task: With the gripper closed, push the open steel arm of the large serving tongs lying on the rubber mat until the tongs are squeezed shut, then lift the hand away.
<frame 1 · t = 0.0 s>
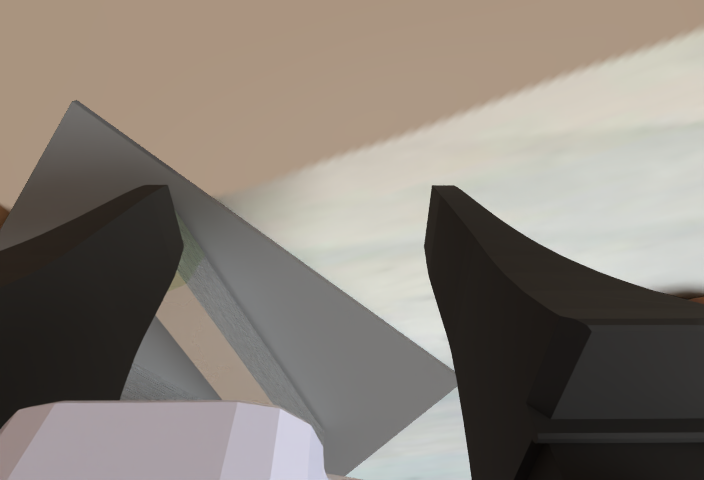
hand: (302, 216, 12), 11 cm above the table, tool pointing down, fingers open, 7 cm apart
hinged arm: (230, 370, 25), point 2 cm above the table, hinge at 25.0°
fixed arm: (297, 444, 31), resting on mat
mat: (205, 365, 28), on the table
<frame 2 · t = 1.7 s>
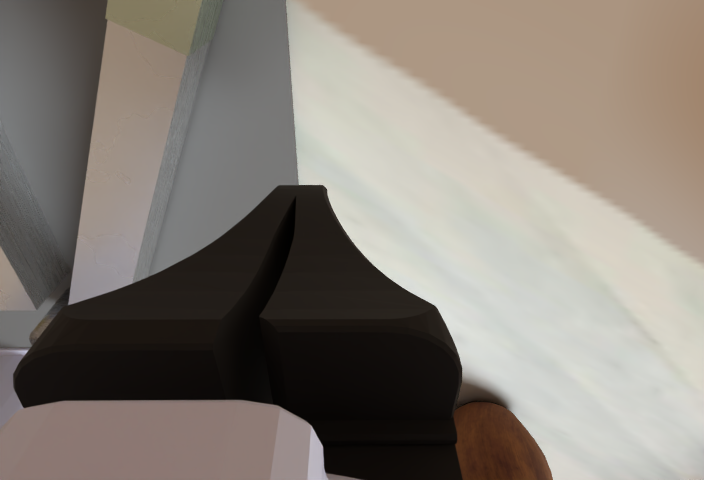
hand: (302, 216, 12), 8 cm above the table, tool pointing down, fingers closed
hinged arm: (114, 180, 18), point 2 cm above the table, hinge at 25.0°
fixed arm: (92, 293, 24), resting on mat
wooden figurine: (478, 413, 31), on the table
mat: (69, 141, 19), on the table
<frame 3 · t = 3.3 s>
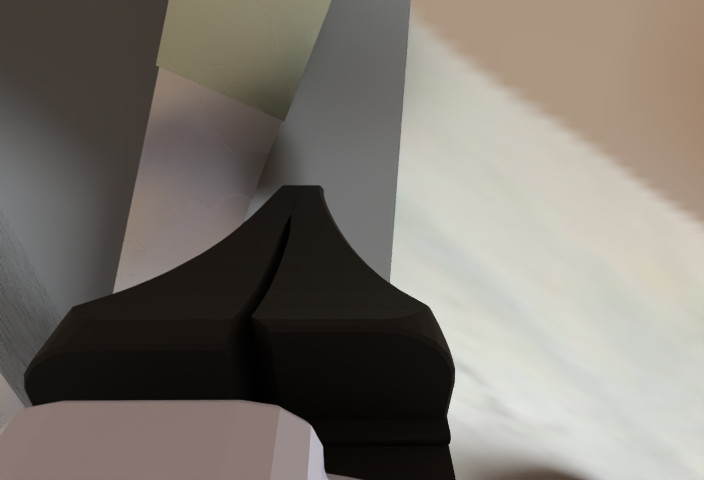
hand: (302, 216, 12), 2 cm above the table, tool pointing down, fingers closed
hinged arm: (150, 274, 13), point 2 cm above the table, hinge at 24.9°, touching gripper
fixed arm: (112, 385, 19), resting on mat
mat: (87, 212, 14), on the table
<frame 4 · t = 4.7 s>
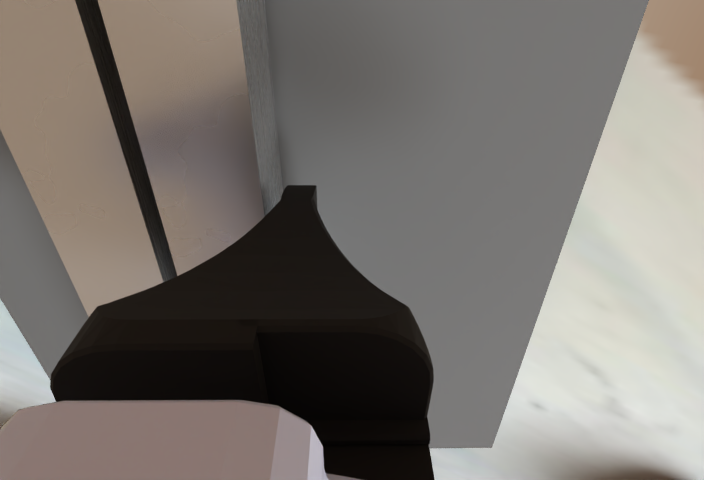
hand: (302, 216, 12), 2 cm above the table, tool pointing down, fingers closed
hinged arm: (211, 244, 12), point 2 cm above the table, hinge at -0.2°, touching gripper
fixed arm: (244, 387, 19), resting on mat
mat: (268, 216, 14), on the table
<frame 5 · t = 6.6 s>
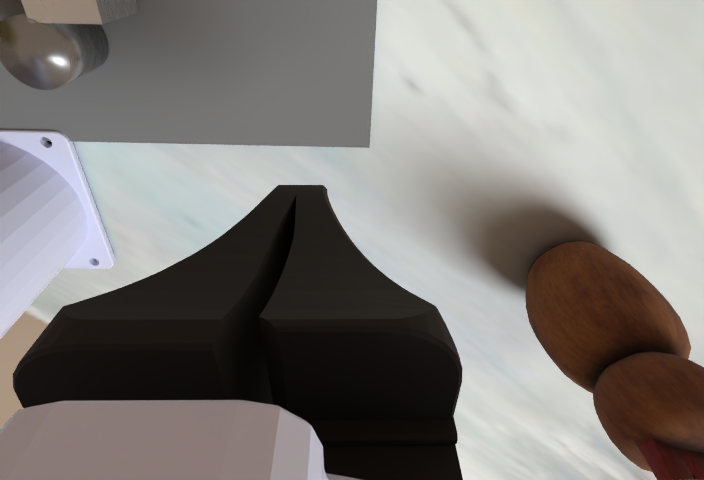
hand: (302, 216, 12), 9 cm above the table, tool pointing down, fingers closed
wooden figurine: (564, 267, 25), on the table
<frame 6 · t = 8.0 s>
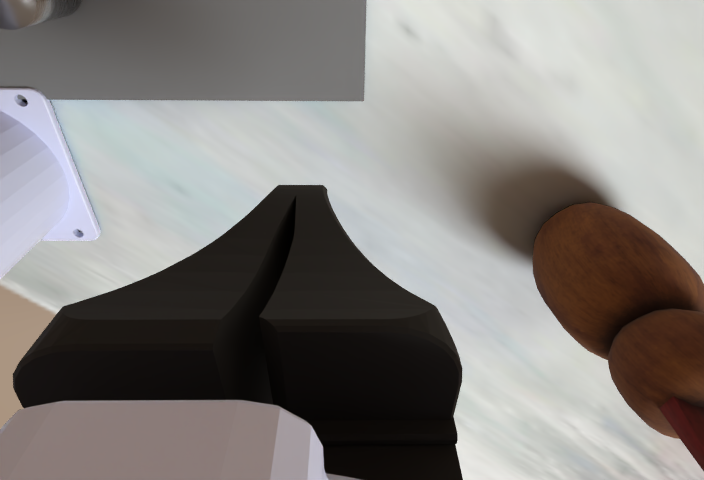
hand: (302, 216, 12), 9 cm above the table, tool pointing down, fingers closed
wooden figurine: (573, 233, 24), on the table
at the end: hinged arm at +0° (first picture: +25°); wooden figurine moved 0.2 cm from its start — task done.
